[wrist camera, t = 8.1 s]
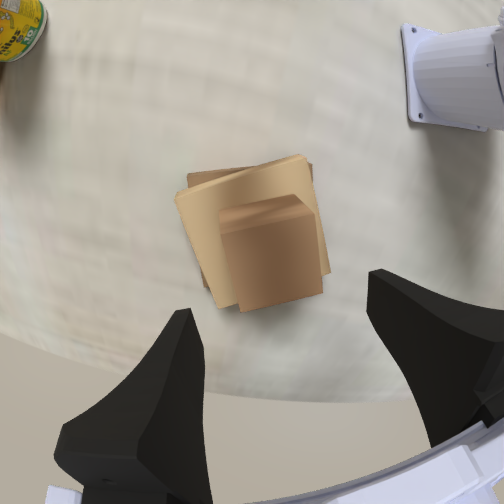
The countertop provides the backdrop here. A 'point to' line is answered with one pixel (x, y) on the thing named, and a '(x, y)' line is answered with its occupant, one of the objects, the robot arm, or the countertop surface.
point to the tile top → (234, 194)
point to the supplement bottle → (20, 27)
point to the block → (271, 251)
